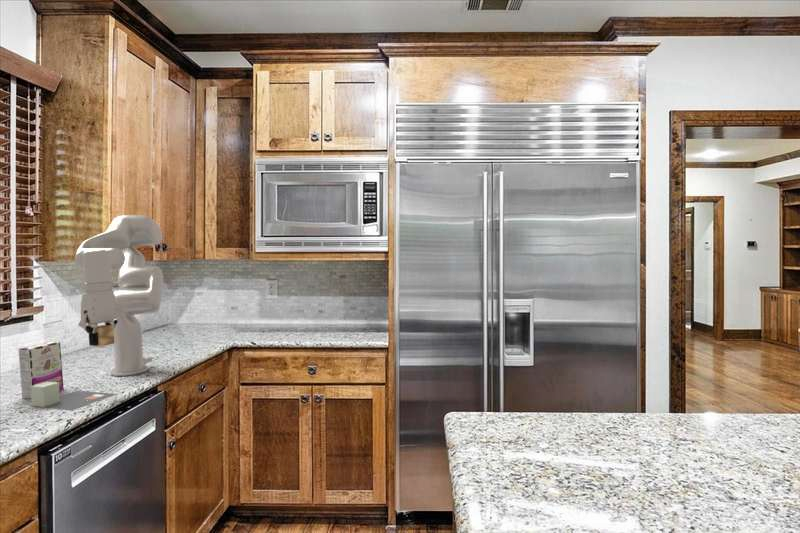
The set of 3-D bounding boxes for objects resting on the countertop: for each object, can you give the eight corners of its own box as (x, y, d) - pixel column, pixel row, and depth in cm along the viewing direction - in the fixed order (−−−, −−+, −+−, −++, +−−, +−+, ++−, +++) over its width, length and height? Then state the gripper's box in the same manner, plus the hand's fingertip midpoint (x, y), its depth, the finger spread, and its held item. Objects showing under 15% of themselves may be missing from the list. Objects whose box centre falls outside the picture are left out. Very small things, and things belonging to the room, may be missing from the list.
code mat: (77, 391, 164) (77, 390, 164) (117, 394, 159) (117, 394, 159) (29, 406, 148) (29, 405, 148) (71, 411, 143) (71, 410, 143)
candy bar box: (51, 388, 168) (49, 341, 167) (64, 389, 167) (61, 341, 166) (20, 398, 157) (17, 348, 156) (33, 399, 156) (30, 348, 155)
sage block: (48, 400, 154) (46, 381, 153) (59, 401, 152) (58, 382, 152) (31, 405, 149) (30, 386, 148) (44, 406, 147) (42, 387, 147)
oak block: (103, 342, 163) (101, 324, 163) (114, 343, 161) (113, 325, 161) (89, 345, 158) (88, 327, 158) (101, 346, 157) (99, 328, 156)
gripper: (112, 284, 168) (115, 336, 169) (64, 290, 152) (68, 348, 153) (129, 285, 165) (132, 338, 167) (82, 291, 149) (86, 350, 151)
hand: (101, 342), depth 160 cm, fingers closed on oak block, 5 cm apart
